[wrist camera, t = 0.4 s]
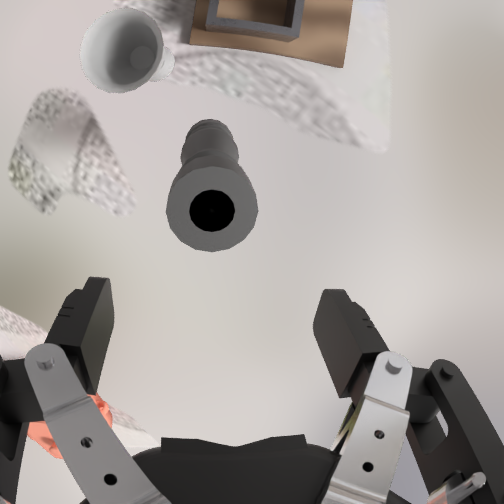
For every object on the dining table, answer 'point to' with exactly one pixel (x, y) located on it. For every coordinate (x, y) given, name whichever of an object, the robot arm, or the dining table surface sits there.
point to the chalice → (124, 51)
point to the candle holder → (211, 191)
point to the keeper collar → (258, 23)
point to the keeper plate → (273, 12)
